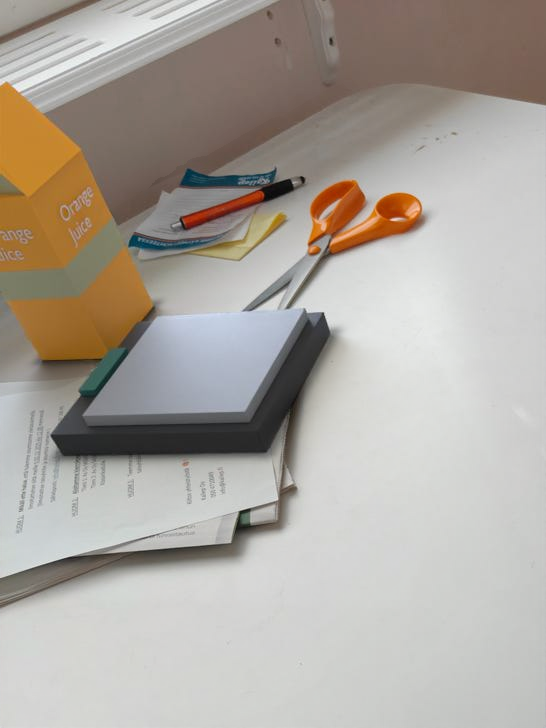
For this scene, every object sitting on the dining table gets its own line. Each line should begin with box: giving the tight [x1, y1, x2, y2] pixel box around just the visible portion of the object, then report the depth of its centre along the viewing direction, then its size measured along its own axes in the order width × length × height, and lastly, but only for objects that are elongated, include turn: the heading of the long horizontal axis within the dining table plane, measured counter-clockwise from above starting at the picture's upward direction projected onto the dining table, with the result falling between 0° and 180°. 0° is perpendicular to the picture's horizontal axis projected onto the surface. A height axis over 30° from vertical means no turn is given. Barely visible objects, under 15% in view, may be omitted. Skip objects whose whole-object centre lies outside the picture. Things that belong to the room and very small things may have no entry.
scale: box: [49, 307, 331, 456], centre depth 78 cm, size 18×16×3 cm
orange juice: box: [0, 80, 155, 361], centre depth 82 cm, size 8×9×20 cm
